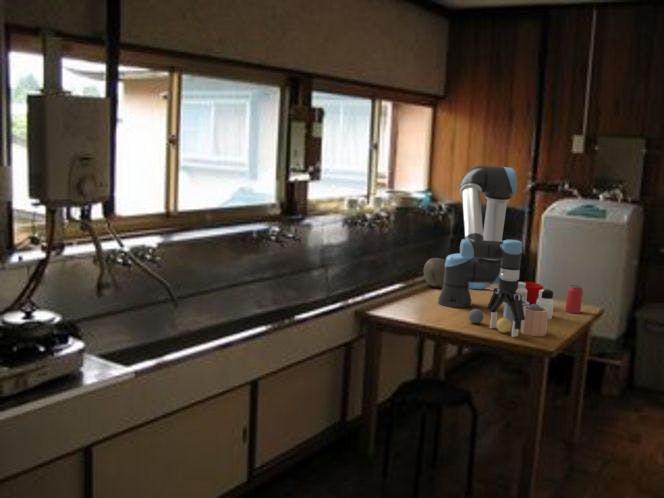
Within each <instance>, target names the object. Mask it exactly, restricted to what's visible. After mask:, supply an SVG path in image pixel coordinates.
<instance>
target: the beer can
mask: <svg viewBox="0 0 664 498" xmlns="http://www.w3.org/2000/svg"><path fill="white" fill-rule="evenodd" d="M583 291H584V290H583V287H582V286H580V285H574V284H569V286H568V289H567V292H566V293H567V294H566V303H565V311H566V313H568V314H580V313H581V309H582V301H583V294H584V293H583Z"/></svg>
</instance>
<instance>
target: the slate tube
mask: <svg viewBox="0 0 664 498" xmlns="http://www.w3.org/2000/svg"><path fill="white" fill-rule="evenodd" d="M503 303H504V304H503V313H502V318H508V319H509V320H510V321H511V323H512V325H513V320H514V316H513V314H512V311H511V308H510V306H509V305H508V303H506V302H503ZM522 305H523V307H524V306H529V302H527V301H524V300H522ZM517 318H518V317H517ZM521 321H522V320H521ZM521 321H520V328H519V329H521Z"/></svg>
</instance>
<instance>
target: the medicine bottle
mask: <svg viewBox="0 0 664 498" xmlns="http://www.w3.org/2000/svg"><path fill="white" fill-rule="evenodd" d="M538 298H539V299H537V301H536V304H537V305H539V306H540V307H543V308H546V309H548V310H549V311H548V320H552V319H553V314H554V313H553V312H554V304H555V301H554V300H553V299H554V292H553V290H550V289H545V288H543V289H542V290H540V291H539V297H538Z"/></svg>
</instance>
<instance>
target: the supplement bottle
mask: <svg viewBox="0 0 664 498" xmlns="http://www.w3.org/2000/svg"><path fill="white" fill-rule="evenodd" d="M523 282H524V281H518V289H517V290H516V295H522V300H524V301H527V289H525V287H526V283H523Z"/></svg>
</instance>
